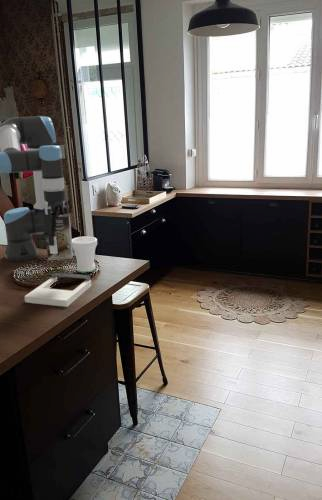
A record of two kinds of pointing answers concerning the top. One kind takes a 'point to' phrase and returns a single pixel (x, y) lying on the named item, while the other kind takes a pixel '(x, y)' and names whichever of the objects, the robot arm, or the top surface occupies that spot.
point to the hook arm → (71, 275)
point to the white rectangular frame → (55, 294)
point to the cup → (84, 253)
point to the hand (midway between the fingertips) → (60, 249)
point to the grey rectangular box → (62, 239)
